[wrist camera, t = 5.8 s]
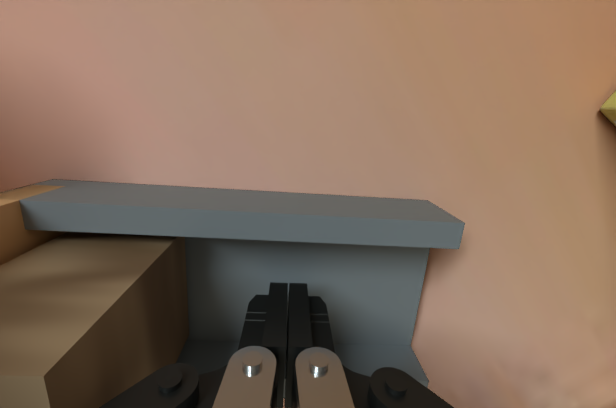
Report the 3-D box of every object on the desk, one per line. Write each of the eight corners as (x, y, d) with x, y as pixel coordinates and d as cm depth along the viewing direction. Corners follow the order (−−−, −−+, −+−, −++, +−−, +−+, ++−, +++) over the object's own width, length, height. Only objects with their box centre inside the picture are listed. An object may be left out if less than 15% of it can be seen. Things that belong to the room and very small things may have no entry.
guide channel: (427, 200, 13) (565, 284, 7) (400, 347, 16) (481, 522, 9) (52, 179, 12) (-239, 253, 6) (80, 340, 14) (-106, 533, 8)
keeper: (184, 230, 12) (-14, 435, 4) (189, 334, 13) (46, 632, 6) (79, 225, 12) (-334, 434, 4) (95, 332, 13) (-188, 642, 5)
